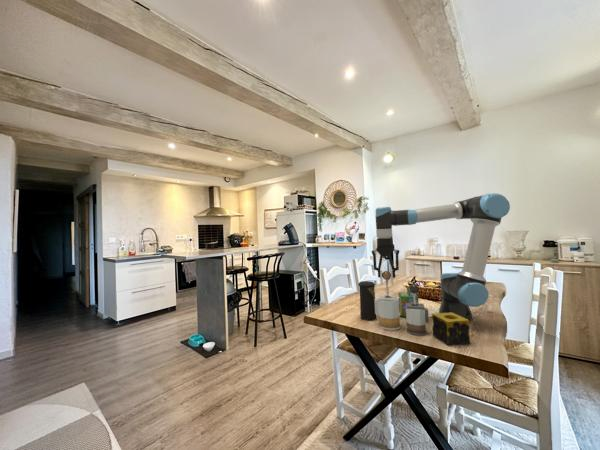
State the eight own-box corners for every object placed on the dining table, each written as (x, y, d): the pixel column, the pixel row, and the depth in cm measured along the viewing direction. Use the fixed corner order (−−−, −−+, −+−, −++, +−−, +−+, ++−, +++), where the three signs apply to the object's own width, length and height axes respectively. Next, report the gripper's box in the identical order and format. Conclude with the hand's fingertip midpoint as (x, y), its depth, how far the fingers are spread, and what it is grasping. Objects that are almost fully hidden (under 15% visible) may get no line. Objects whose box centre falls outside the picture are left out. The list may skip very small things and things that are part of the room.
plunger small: (420, 318, 116) (418, 283, 117) (420, 321, 113) (418, 285, 113) (410, 317, 118) (408, 283, 118) (411, 320, 114) (409, 284, 114)
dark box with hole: (432, 335, 110) (430, 313, 111) (453, 333, 111) (452, 311, 111) (447, 346, 100) (446, 321, 100) (471, 344, 101) (469, 319, 101)
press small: (427, 329, 117) (426, 303, 117) (430, 336, 109) (428, 308, 110) (406, 327, 120) (404, 301, 121) (407, 334, 113) (405, 307, 113)
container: (377, 321, 130) (375, 283, 131) (360, 320, 132) (358, 283, 132) (376, 315, 139) (374, 280, 139) (359, 315, 140) (357, 280, 141)
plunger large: (392, 305, 125) (391, 270, 125) (392, 308, 120) (390, 271, 121) (383, 304, 126) (381, 270, 127) (383, 307, 122) (381, 271, 122)
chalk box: (398, 312, 143) (397, 286, 143) (415, 312, 141) (414, 286, 141) (401, 317, 134) (400, 290, 134) (419, 318, 132) (418, 290, 132)
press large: (400, 323, 126) (398, 294, 126) (400, 331, 116) (399, 300, 117) (376, 321, 130) (375, 293, 131) (375, 329, 120) (373, 299, 121)
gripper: (402, 236, 124) (405, 283, 124) (367, 237, 131) (369, 282, 130) (403, 237, 117) (406, 286, 117) (365, 238, 124) (368, 285, 123)
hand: (387, 284), depth 124 cm, fingers closed on plunger large, 4 cm apart
